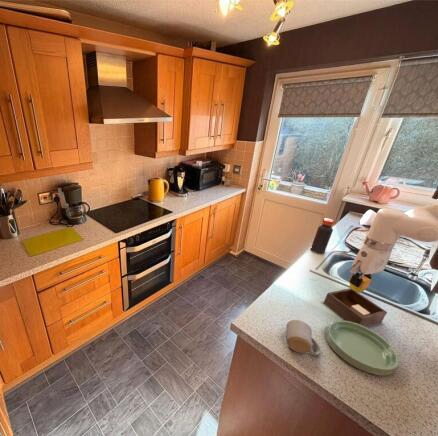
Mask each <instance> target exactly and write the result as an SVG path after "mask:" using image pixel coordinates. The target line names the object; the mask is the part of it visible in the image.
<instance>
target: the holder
mask: <svg viewBox="0 0 438 436" xmlns="http://www.w3.org/2000/svg"><path fill="white" fill-rule="evenodd" d="M323 304H324V305H325V306H326V307H327V308H329V310H331V311H332V312H333V313H335V314H336V315H337V316H338V317H339V318H341V319H342V320H345V321H350V322H354V323H357V324H360V325H362V326H364V327H366V328H368V327H371V326H375V325H379V324H381V323H382V322H383V320H384V319H385V317H386V315H387V314H388V311H386V310H385V309H383V308H382V307H380V306H379V305H377V304H376V303H374V302H373V301H371V300H370V299H368V298H367V297H365V296H364V295H363V294H361V293H360V292H356V291H355V290H353V289H352V288H350V287H349V288H346V289H340V290H336V291H330V292H327V293H326V296H325V298H324V300H323ZM353 305H360V306H361V307H362V308H364V309H365V310H367V311H368V312H370V315H366V316H362V317H361V316H360V315H359V314H357V313H356V312H355V311H353V310H352V309H351V306H353Z"/></svg>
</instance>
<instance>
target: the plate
mask: <svg viewBox="0 0 438 436" xmlns="http://www.w3.org/2000/svg"><path fill="white" fill-rule="evenodd" d="M325 338H326V341H327V343H328V345H329V347H330V348H331V349H332V350H333V352H334V353H336V354H337V355H338V356H339V357H340V358H341V359H342V360H344V361H345V362H346V363H348V364H349V365H351V366H352V367H355V368H356V369H359V370H360V371H363V372H365V373H367V374H371V375H376V376H388V375H391V374H392V373H393V372H394V371H395V370H396V369H397V367H398V366H399V363H400V358H399V356H398V353H397V351H396V350H395V348H394V347H393V346H392V344H390V343H389V342H388V341H387V340H386V338H383V337H382V336H381V335H380V334H378V333H377V332H376V331H373V330H372V329H371V328H368V327H364V326H362V325H360V324H357V323H354V322H350V321H345V320H343V319H342V320H341V319H339V320H338V319H337V320H334V321H332V322H331V323H329V324H328V327H327V329H326V332H325Z"/></svg>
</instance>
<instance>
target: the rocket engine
mask: <svg viewBox="0 0 438 436" xmlns="http://www.w3.org/2000/svg"><path fill="white" fill-rule="evenodd" d="M376 214H377V212H375V211H374V210H372V209H368V210H367V211H366V212H364V214H363V215H362V217H361V218H360V221H359V224H360V225H363V226H370V227H371V225H372V223H373V221H374V219H375V216H376Z"/></svg>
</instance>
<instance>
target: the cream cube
mask: <svg viewBox="0 0 438 436" xmlns="http://www.w3.org/2000/svg"><path fill="white" fill-rule="evenodd" d="M351 309H352V310H353V311H355V312H356V313H357V314H359V315H360V316H361V317H362V316H366V315H370V312H368V311H367V310H365V309H364V308H362V307H361V306H360V305H353V306H351Z"/></svg>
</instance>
